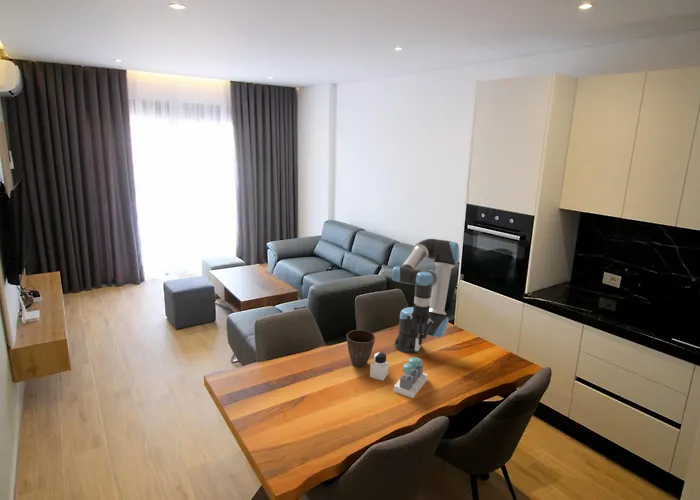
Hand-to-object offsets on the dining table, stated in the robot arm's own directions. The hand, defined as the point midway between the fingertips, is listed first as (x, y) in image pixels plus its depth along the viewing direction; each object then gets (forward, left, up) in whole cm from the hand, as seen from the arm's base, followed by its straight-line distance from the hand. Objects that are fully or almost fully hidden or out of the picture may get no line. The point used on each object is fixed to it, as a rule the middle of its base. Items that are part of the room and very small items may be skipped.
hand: (417, 349), depth 210 cm
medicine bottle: (-17, -5, -18) cm, 25 cm away
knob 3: (0, +3, -14) cm, 15 cm away
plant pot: (-31, 0, -18) cm, 36 cm away
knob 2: (0, -4, -11) cm, 12 cm away
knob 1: (0, -10, -11) cm, 15 cm away
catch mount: (0, -4, -18) cm, 18 cm away
